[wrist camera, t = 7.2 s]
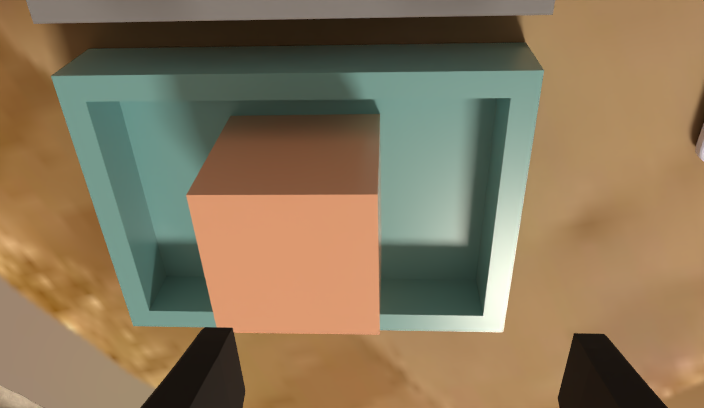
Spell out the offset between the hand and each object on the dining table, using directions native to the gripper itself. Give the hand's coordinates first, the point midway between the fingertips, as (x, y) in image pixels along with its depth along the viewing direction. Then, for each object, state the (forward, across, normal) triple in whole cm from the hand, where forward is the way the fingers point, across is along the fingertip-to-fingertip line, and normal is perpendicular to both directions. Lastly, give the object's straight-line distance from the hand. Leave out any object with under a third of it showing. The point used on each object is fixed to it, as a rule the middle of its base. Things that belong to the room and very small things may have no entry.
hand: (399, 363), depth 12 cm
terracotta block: (+9, +3, +1) cm, 9 cm away
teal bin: (+9, +3, +1) cm, 10 cm away
